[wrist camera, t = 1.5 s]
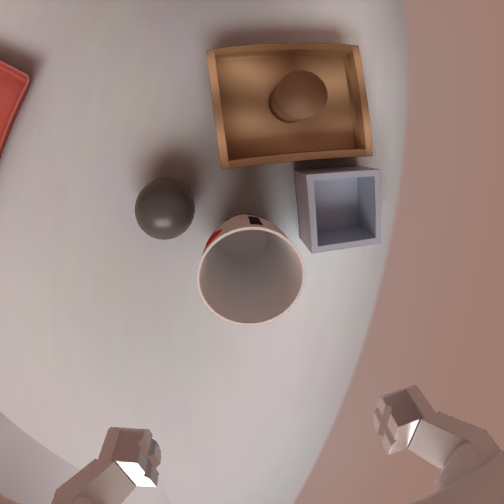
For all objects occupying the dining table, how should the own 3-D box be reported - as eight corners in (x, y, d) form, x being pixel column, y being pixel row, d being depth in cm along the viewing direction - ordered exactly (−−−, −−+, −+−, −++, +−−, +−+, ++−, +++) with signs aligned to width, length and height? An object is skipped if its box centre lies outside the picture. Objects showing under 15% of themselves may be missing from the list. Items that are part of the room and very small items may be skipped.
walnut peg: (265, 85, 26) (275, 71, 20) (305, 83, 26) (324, 69, 20) (270, 124, 27) (281, 118, 21) (310, 121, 27) (330, 116, 22)
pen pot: (293, 170, 30) (306, 175, 25) (358, 165, 30) (379, 169, 25) (299, 237, 32) (311, 253, 27) (360, 229, 32) (380, 243, 27)
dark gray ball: (139, 181, 29) (121, 189, 23) (193, 171, 29) (185, 176, 23) (149, 234, 31) (134, 252, 25) (201, 225, 31) (196, 242, 25)
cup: (262, 188, 30) (278, 207, 21) (294, 255, 33) (319, 298, 23) (191, 223, 31) (176, 258, 21) (227, 286, 33) (228, 340, 24)
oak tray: (208, 60, 25) (206, 49, 22) (345, 54, 25) (358, 45, 22) (222, 167, 29) (221, 169, 26) (358, 154, 29) (372, 155, 26)
